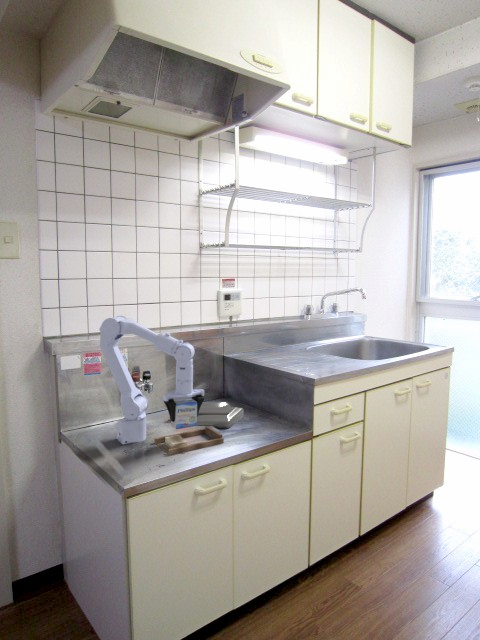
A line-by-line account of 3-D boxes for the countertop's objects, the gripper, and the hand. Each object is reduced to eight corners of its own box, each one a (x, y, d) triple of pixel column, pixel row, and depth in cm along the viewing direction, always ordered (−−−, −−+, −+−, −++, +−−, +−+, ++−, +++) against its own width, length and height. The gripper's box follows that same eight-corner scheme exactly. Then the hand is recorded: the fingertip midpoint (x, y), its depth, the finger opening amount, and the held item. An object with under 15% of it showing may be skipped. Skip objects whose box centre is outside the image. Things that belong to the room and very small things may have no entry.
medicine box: (175, 429, 143) (175, 404, 142) (170, 425, 147) (170, 400, 146) (197, 426, 147) (197, 401, 146) (191, 422, 151) (191, 397, 150)
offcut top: (172, 450, 140) (172, 444, 140) (165, 443, 146) (165, 437, 146) (187, 447, 142) (187, 441, 142) (179, 440, 148) (179, 434, 148)
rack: (169, 459, 136) (169, 447, 136) (154, 446, 146) (154, 435, 146) (223, 447, 147) (223, 435, 147) (206, 435, 157) (206, 425, 157)
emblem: (194, 423, 156) (162, 403, 179) (194, 437, 157) (161, 416, 179) (256, 410, 172) (219, 394, 195) (256, 423, 173) (219, 405, 195)
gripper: (169, 384, 138) (169, 425, 139) (209, 379, 146) (208, 418, 148) (160, 379, 144) (160, 419, 145) (199, 375, 152) (198, 412, 153)
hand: (183, 418), depth 147 cm, fingers closed on medicine box, 7 cm apart
